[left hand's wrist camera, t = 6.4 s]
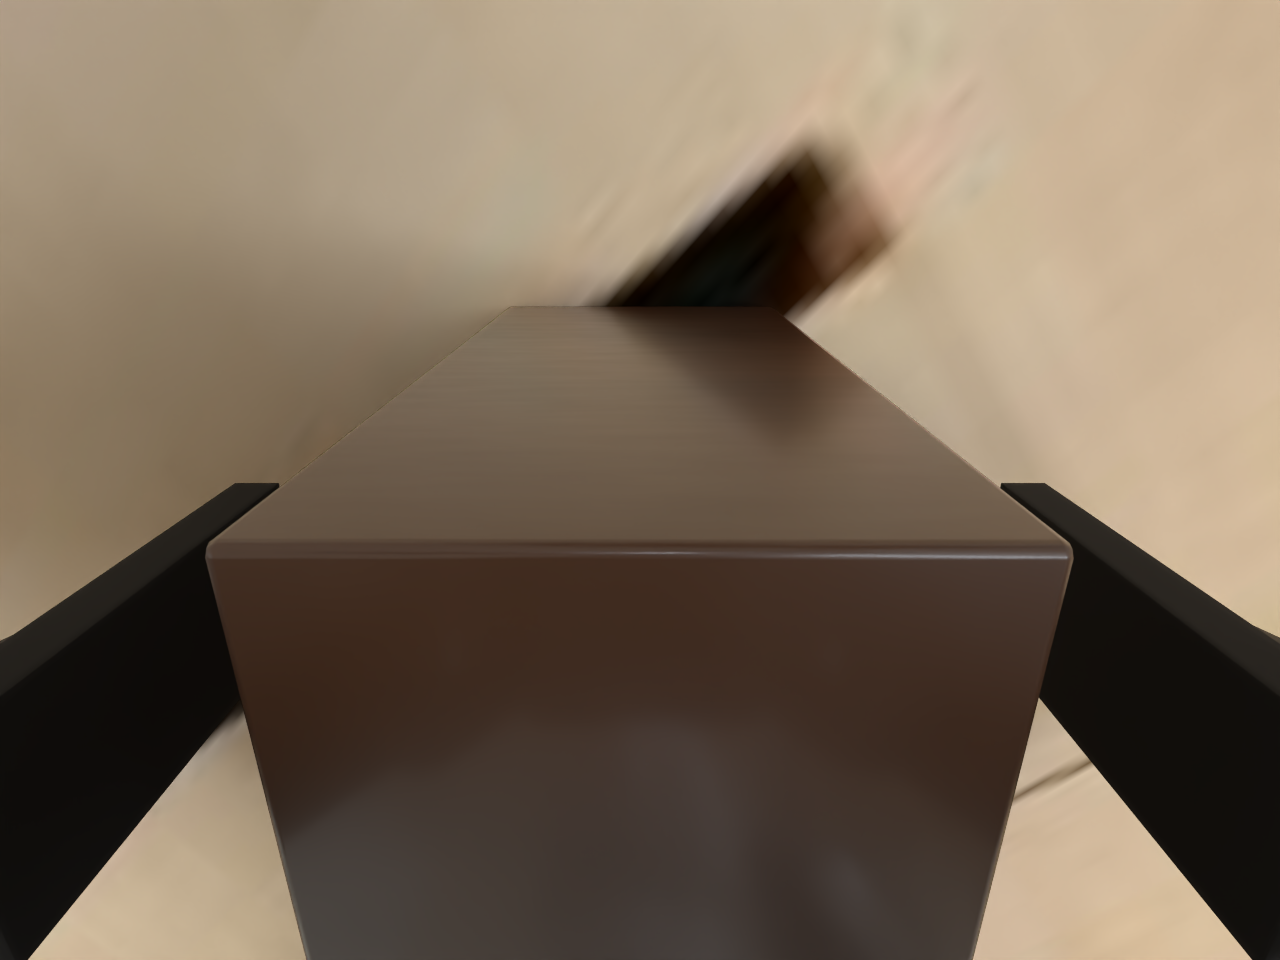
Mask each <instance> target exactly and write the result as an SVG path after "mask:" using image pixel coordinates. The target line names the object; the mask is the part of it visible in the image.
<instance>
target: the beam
mask: <svg viewBox="0 0 1280 960" xmlns="http://www.w3.org/2000/svg"><path fill="white" fill-rule="evenodd" d="M205 559H206V563H207V567H208V571H209V575H210V579H211V583H212V587H213V591H214V595H215V599H216V603H217V607H218V611H219V615H220V619H221V622H222V626H223V630H224V634H225V638H226V642H227V646H228V650H229V654H230V658H231V662H232V666H233V670H234V674H235V678H236V682H237V686H238V690H239V694H240V698H241V702H242V706H243V710H244V714H245V718H246V722H247V726H248V730H249V734H250V738H251V742H252V745H253V749H254V753H255V757H256V761H257V765H258V769H259V773H260V777H261V781H262V785H263V789H264V793H265V797H266V801H267V805H268V809H269V813H270V817H271V821H272V825H273V829H274V833H275V837H276V841H277V845H278V849H279V853H280V857H281V861H282V865H283V868H284V872H285V876H286V880H287V884H288V888H289V892H290V896H291V900H292V904H293V908H294V912H295V916H296V920H297V924H298V928H299V932H300V936H301V940H302V944H303V948H304V952H305V956H306V960H973V956H974V952H975V948H976V944H977V940H978V936H979V932H980V928H981V924H982V920H983V916H984V912H985V908H986V904H987V901H988V897H989V893H990V889H991V885H992V881H993V877H994V873H995V869H996V865H997V861H998V857H999V853H1000V849H1001V845H1002V841H1003V837H1004V833H1005V829H1006V825H1007V821H1008V817H1009V813H1010V809H1011V805H1012V801H1013V797H1014V793H1015V789H1016V785H1017V781H1018V777H1019V773H1020V769H1021V765H1022V762H1023V758H1024V754H1025V750H1026V746H1027V742H1028V738H1029V734H1030V730H1031V726H1032V722H1033V718H1034V714H1035V710H1036V706H1037V702H1038V698H1039V694H1040V690H1041V686H1042V682H1043V678H1044V674H1045V670H1046V666H1047V662H1048V658H1049V654H1050V650H1051V646H1052V642H1053V638H1054V634H1055V630H1056V626H1057V623H1058V619H1059V615H1060V611H1061V607H1062V603H1063V599H1064V595H1065V591H1066V587H1067V583H1068V579H1069V575H1070V571H1071V567H1072V563H1073V559H1074V558H1073V550H1072V547H1071V545H1070V543H1069V542H1068V541H1066V540H1065V539H1064V538H1062V537H1061V536H1060V535H1059V534H1057V533H1056V532H1055V531H1054V530H1052V529H1051V528H1050V527H1049V526H1047V525H1046V524H1045V523H1044V522H1042V521H1041V520H1040V519H1038V518H1037V517H1036V516H1035V515H1033V514H1032V513H1031V512H1030V511H1028V510H1027V509H1026V508H1025V507H1023V506H1022V505H1021V504H1020V503H1018V502H1017V501H1016V500H1014V499H1013V498H1012V497H1011V496H1009V495H1008V494H1007V493H1006V492H1004V491H1003V490H1002V489H1001V488H999V487H998V486H997V485H996V484H994V483H993V482H992V481H990V480H989V479H988V478H987V477H985V476H984V475H983V474H982V473H980V472H979V471H978V470H977V469H975V468H974V467H973V466H972V465H970V464H969V463H968V462H967V461H965V460H964V459H963V458H961V457H960V456H959V455H958V454H956V453H955V452H954V451H953V450H951V449H950V448H949V447H948V446H946V445H945V444H944V443H943V442H941V441H940V440H939V439H937V438H936V437H935V436H934V435H932V434H931V433H930V432H929V431H927V430H926V429H925V428H924V427H922V426H921V425H920V424H919V423H917V422H916V421H915V420H913V419H912V418H911V417H910V416H908V415H907V414H906V413H905V412H903V411H902V410H901V409H900V408H898V407H897V406H896V405H895V404H893V403H892V402H891V401H889V400H888V399H887V398H886V397H884V396H883V395H882V394H881V393H879V392H878V391H877V390H876V389H874V388H873V387H872V386H871V385H869V384H868V383H867V382H865V381H864V380H863V379H862V378H860V377H859V376H858V375H857V374H855V373H854V372H853V371H852V370H850V369H849V368H848V367H847V366H845V365H844V364H843V363H841V362H840V361H839V360H838V359H836V358H835V357H834V356H833V355H831V354H830V353H829V352H828V351H826V350H825V349H824V348H823V347H821V346H820V345H819V344H818V343H816V342H815V341H814V340H812V339H811V338H810V337H809V336H807V335H806V334H805V333H804V332H802V331H801V330H800V329H799V328H797V327H796V326H795V325H794V324H792V323H791V322H790V321H788V320H787V319H786V318H785V317H783V316H782V315H781V314H780V313H778V312H777V311H776V310H775V309H773V308H771V307H510V308H508V309H507V310H505V311H504V312H503V313H502V314H500V315H499V316H498V317H497V318H495V319H494V320H493V321H491V322H490V323H489V324H488V325H486V326H485V327H484V328H482V329H481V330H480V331H479V332H477V333H476V334H475V335H474V336H472V337H471V338H470V339H468V340H467V341H466V342H465V343H463V344H462V345H461V346H459V347H458V348H457V349H456V350H454V351H453V352H452V353H451V354H449V355H448V356H447V357H445V358H444V359H443V360H442V361H440V362H439V363H438V364H436V365H435V366H434V367H433V368H431V369H430V370H429V371H427V372H426V373H425V374H424V375H422V376H421V377H420V378H419V379H417V380H416V381H415V382H413V383H412V384H411V385H410V386H408V387H407V388H406V389H404V390H403V391H402V392H401V393H399V394H398V395H397V396H396V397H394V398H393V399H392V400H390V401H389V402H388V403H387V404H385V405H384V406H383V407H381V408H380V409H379V410H378V411H376V412H375V413H374V414H373V415H371V416H370V417H369V418H367V419H366V420H365V421H364V422H362V423H361V424H360V425H358V426H357V427H356V428H355V429H353V430H352V431H351V432H350V433H348V434H347V435H346V436H344V437H343V438H342V439H341V440H339V441H338V442H337V443H335V444H334V445H333V446H332V447H330V448H329V449H328V450H327V451H325V452H324V453H323V454H321V455H320V456H319V457H318V458H316V459H315V460H314V461H312V462H311V463H310V464H309V465H307V466H306V467H305V468H304V469H302V470H301V471H300V472H298V473H297V474H296V475H295V476H293V477H292V478H291V479H289V480H288V481H287V482H286V483H284V484H283V485H282V486H280V487H279V488H278V489H277V490H275V491H274V492H273V493H272V494H270V495H269V496H268V497H266V498H265V499H264V500H263V501H261V502H260V503H259V504H257V505H256V506H255V507H254V508H252V509H251V510H250V511H249V512H247V513H246V514H245V515H243V516H242V517H241V518H240V519H238V520H237V521H236V522H234V523H233V524H232V525H231V526H229V527H228V528H227V529H226V530H224V531H223V532H222V533H220V534H219V535H218V536H217V537H215V538H214V539H213V540H211V541H210V542H209V544H208V546H207V548H206V555H205Z"/></svg>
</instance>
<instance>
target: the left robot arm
mask: <svg viewBox="0 0 1280 960" xmlns="http://www.w3.org/2000/svg"><path fill="white" fill-rule="evenodd" d="M278 488H279V483H235V484H233V485H232V486H230V487H229V488H228V489H226V490H225V491H223V492H222V493H220V494H219V495H217V496H216V497H214V498H213V499H211V500H210V501H209V502H207V503H206V504H204V505H203V506H201V507H200V508H198V509H197V510H195V511H194V512H192V513H191V514H189V515H188V516H187V517H185V518H184V519H182V520H181V521H179V522H178V523H176V524H175V525H173V526H172V527H170V528H169V529H168V530H166V531H165V532H163V533H162V534H160V535H159V536H157V537H156V538H154V539H153V540H151V541H150V542H149V543H147V544H146V545H144V546H143V547H141V548H140V549H138V550H137V551H135V552H134V553H132V554H131V555H129V556H128V557H127V558H125V559H124V560H122V561H121V562H119V563H118V564H116V565H115V566H113V567H112V568H110V569H109V570H108V571H106V572H105V573H103V574H102V575H100V576H99V577H97V578H96V579H94V580H93V581H91V582H90V583H89V584H87V585H86V586H84V587H83V588H81V589H80V590H78V591H77V592H75V593H74V594H72V595H71V596H69V597H68V598H67V599H65V600H64V601H62V602H61V603H59V604H58V605H56V606H55V607H53V608H52V609H50V610H49V611H48V612H46V613H45V614H43V615H42V616H40V617H39V618H37V619H36V620H34V621H33V622H31V623H30V624H29V625H27V626H26V627H24V628H23V629H21V630H20V631H18V632H17V633H15V634H14V635H12V636H10V637H8V638H5V639H3V640H1V641H0V960H28V959H29V958H30V956H31V955H32V954H33V953H34V951H35V950H36V949H37V948H38V947H39V945H40V944H41V943H42V942H43V940H44V939H45V938H46V937H47V935H48V934H49V933H50V932H51V931H52V929H53V928H54V927H55V926H56V924H57V923H58V922H59V921H60V919H61V918H62V917H63V916H64V915H65V913H66V912H67V911H68V910H69V908H70V907H71V906H72V905H73V903H74V902H75V901H76V900H77V899H78V897H79V896H80V895H81V894H82V892H83V891H84V890H85V889H86V887H87V886H88V885H89V884H90V883H91V881H92V880H93V879H94V878H95V876H96V875H97V874H98V873H99V871H100V870H101V869H102V868H103V867H104V865H105V864H106V863H107V862H108V860H109V859H110V858H111V857H112V855H113V854H114V853H115V852H116V851H117V849H118V848H119V847H120V846H121V844H122V843H123V842H124V841H125V839H126V838H127V837H128V836H129V835H130V833H131V832H132V831H133V830H134V828H135V827H136V826H137V825H138V824H139V822H140V821H141V820H142V819H143V817H144V816H145V815H146V814H147V812H148V811H149V810H150V809H151V808H152V806H153V805H154V804H155V803H156V801H157V800H158V799H159V798H160V796H161V795H162V794H163V793H164V792H165V790H166V789H167V788H168V787H169V785H170V784H171V783H172V782H173V780H174V779H175V778H176V777H177V776H178V774H179V773H180V772H181V771H182V769H183V768H184V767H185V766H186V764H187V763H188V762H189V761H190V760H191V758H192V757H193V756H194V755H195V753H196V752H197V751H198V750H199V748H200V747H201V746H202V745H203V744H204V742H205V741H206V740H207V739H208V737H209V736H210V735H211V734H212V732H213V731H214V730H215V729H216V728H217V726H218V725H219V724H220V723H221V721H222V720H223V719H224V718H225V716H226V715H227V714H228V713H229V712H230V710H231V709H232V708H233V707H234V705H235V704H236V703H237V702H238V701H239V699H240V694H239V690H238V686H237V682H236V678H235V674H234V670H233V666H232V662H231V658H230V654H229V650H228V646H227V642H226V638H225V634H224V630H223V626H222V622H221V619H220V615H219V611H218V607H217V603H216V599H215V595H214V591H213V587H212V583H211V579H210V575H209V571H208V567H207V563H206V559H205V555H206V548H207V546H208V544H209V542H210V541H211V540H213V539H214V538H215V537H217V536H218V535H219V534H220V533H222V532H223V531H224V530H226V529H227V528H228V527H229V526H231V525H232V524H233V523H234V522H236V521H237V520H238V519H240V518H241V517H242V516H243V515H245V514H246V513H247V512H249V511H250V510H251V509H252V508H254V507H255V506H256V505H257V504H259V503H260V502H261V501H263V500H264V499H265V498H266V497H268V496H269V495H270V494H272V493H273V492H274V491H275V490H277V489H278ZM1000 488H1001V489H1002V490H1003V491H1004V492H1006V493H1007V494H1008V495H1009V496H1011V497H1012V498H1013V499H1014V500H1016V501H1017V502H1018V503H1020V504H1021V505H1022V506H1023V507H1025V508H1026V509H1027V510H1028V511H1030V512H1031V513H1032V514H1033V515H1035V516H1036V517H1037V518H1038V519H1040V520H1041V521H1042V522H1044V523H1045V524H1046V525H1047V526H1049V527H1050V528H1051V529H1052V530H1054V531H1055V532H1056V533H1057V534H1059V535H1060V536H1061V537H1062V538H1064V539H1065V540H1066V541H1068V542H1069V543H1070V545H1071V547H1072V550H1073V558H1074V559H1073V563H1072V567H1071V571H1070V575H1069V579H1068V583H1067V587H1066V591H1065V595H1064V599H1063V603H1062V607H1061V611H1060V615H1059V619H1058V623H1057V626H1056V630H1055V634H1054V638H1053V642H1052V646H1051V650H1050V654H1049V658H1048V662H1047V666H1046V670H1045V674H1044V678H1043V682H1042V686H1041V690H1040V694H1039V698H1040V699H1041V700H1042V702H1043V703H1044V704H1045V705H1046V707H1047V708H1048V709H1049V710H1050V712H1051V713H1052V714H1053V715H1054V716H1055V718H1056V719H1057V720H1058V721H1059V723H1060V724H1061V725H1062V726H1063V728H1064V729H1065V730H1066V731H1067V732H1068V734H1069V735H1070V736H1071V737H1072V739H1073V740H1074V741H1075V742H1076V744H1077V745H1078V746H1079V747H1080V748H1081V750H1082V751H1083V752H1084V753H1085V755H1086V756H1087V757H1088V758H1089V760H1090V761H1091V762H1092V763H1093V764H1094V766H1095V767H1096V768H1097V769H1098V771H1099V772H1100V773H1101V774H1102V776H1103V777H1104V778H1105V779H1106V780H1107V782H1108V783H1109V784H1110V785H1111V787H1112V788H1113V789H1114V790H1115V791H1116V793H1117V794H1118V795H1119V796H1120V798H1121V799H1122V800H1123V801H1124V803H1125V804H1126V805H1127V806H1128V807H1129V809H1130V810H1131V811H1132V812H1133V814H1134V815H1135V816H1136V817H1137V819H1138V820H1139V821H1140V822H1141V823H1142V825H1143V826H1144V827H1145V828H1146V830H1147V831H1148V832H1149V833H1150V835H1151V836H1152V837H1153V838H1154V839H1155V841H1156V842H1157V843H1158V844H1159V846H1160V847H1161V848H1162V849H1163V851H1164V852H1165V853H1166V854H1167V855H1168V857H1169V858H1170V859H1171V860H1172V862H1173V863H1174V864H1175V865H1176V867H1177V868H1178V869H1179V870H1180V871H1181V873H1182V874H1183V875H1184V876H1185V878H1186V879H1187V880H1188V881H1189V883H1190V884H1191V885H1192V886H1193V887H1194V889H1195V890H1196V891H1197V892H1198V894H1199V895H1200V896H1201V897H1202V899H1203V900H1204V901H1205V902H1206V903H1207V905H1208V906H1209V907H1210V908H1211V910H1212V911H1213V912H1214V913H1215V914H1216V916H1217V917H1218V918H1219V919H1220V921H1221V922H1222V923H1223V924H1224V926H1225V927H1226V928H1227V929H1228V930H1229V932H1230V933H1231V934H1232V935H1233V937H1234V938H1235V939H1236V940H1237V942H1238V943H1239V944H1240V945H1241V946H1242V948H1243V949H1244V950H1245V951H1246V953H1247V954H1248V955H1249V956H1250V958H1251V959H1252V960H1280V638H1279V637H1277V636H1275V635H1273V634H1271V633H1268V632H1266V631H1264V630H1262V629H1260V628H1257V627H1255V626H1253V625H1252V624H1250V623H1249V622H1247V621H1246V620H1244V619H1243V618H1241V617H1240V616H1238V615H1237V614H1235V613H1234V612H1232V611H1231V610H1230V609H1228V608H1227V607H1225V606H1224V605H1222V604H1221V603H1219V602H1218V601H1216V600H1215V599H1213V598H1212V597H1211V596H1209V595H1208V594H1206V593H1205V592H1203V591H1202V590H1200V589H1199V588H1197V587H1196V586H1194V585H1193V584H1192V583H1190V582H1189V581H1187V580H1186V579H1184V578H1183V577H1181V576H1180V575H1178V574H1177V573H1175V572H1174V571H1172V570H1171V569H1170V568H1168V567H1167V566H1165V565H1164V564H1162V563H1161V562H1159V561H1158V560H1156V559H1155V558H1153V557H1152V556H1151V555H1149V554H1148V553H1146V552H1145V551H1143V550H1142V549H1140V548H1139V547H1137V546H1136V545H1134V544H1133V543H1132V542H1130V541H1129V540H1127V539H1126V538H1124V537H1123V536H1121V535H1120V534H1118V533H1117V532H1115V531H1114V530H1112V529H1111V528H1110V527H1108V526H1107V525H1105V524H1104V523H1102V522H1101V521H1099V520H1098V519H1096V518H1095V517H1093V516H1092V515H1091V514H1089V513H1088V512H1086V511H1085V510H1083V509H1082V508H1080V507H1079V506H1077V505H1076V504H1074V503H1073V502H1072V501H1070V500H1069V499H1067V498H1066V497H1064V496H1063V495H1061V494H1060V493H1058V492H1057V491H1055V490H1054V489H1052V488H1051V487H1050V486H1048V485H1047V484H1045V483H1001V487H1000Z"/></svg>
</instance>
